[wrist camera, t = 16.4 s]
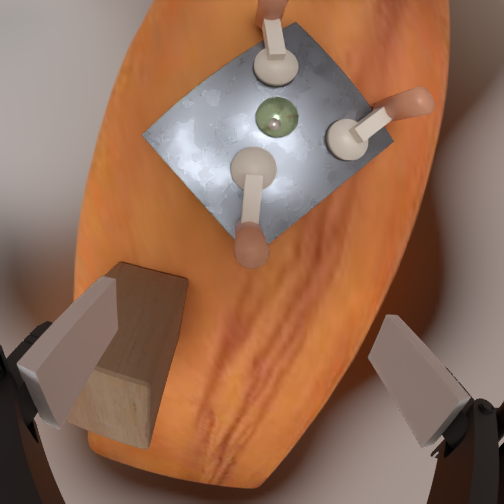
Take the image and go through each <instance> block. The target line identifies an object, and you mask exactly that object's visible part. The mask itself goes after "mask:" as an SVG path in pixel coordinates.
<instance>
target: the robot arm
mask: <svg viewBox="0 0 504 504" xmlns="http://www.w3.org/2000/svg"><path fill="white" fill-rule="evenodd" d="M117 331H118V318H117V299H116V279H114V278H109V277H104V276H101V277H100V278H99V279H98V280H97V281H95V282H94V283H93V284H92V285H91V286H90V287H89V288H88V289H87V290H86V291H85V292H84V293H83V294H82V295H81V296H80V297H79V298H78V299H77V300H76V301H75V302H74V303H73V304H72V305H71V306H70V307H68V308H67V310H66V311H65V312H64V313H63V314H62V315H61V316H60V317H59V318H58V319H57V320H56V321H55V322H54V323H52V322H49V321H47V322H45V323H43V324H41V325H39V326H37V327H36V328H35V329H34V330H33V331H32V332H31V333H30V335H28V336H27V337H26V338H25V339H24V341H22V342H21V343H20V345H19V346H18V347H17V348H16V349H15V350H14V351H13V352H12V353H11V354H10V355H9V356H8V358H7V359H6V357H5V355H4V352H3V349H2V346H1V345H0V504H65V501H64V500H63V497H62V495H61V493H60V491H59V488H58V486H57V484H56V481H55V479H54V477H53V474H52V472H51V469H50V466H49V463H48V461H47V458H46V455H45V452H44V449H43V446H42V442H41V439H40V436H39V432H38V428H37V425H36V422H35V420H34V417H35V416H36V414H37V412H38V413H39V415H40V417H41V419H42V421H43V422H44V423H46V424H48V425H50V426H53V427H55V428H57V429H59V430H61V429H62V427H63V425H64V423H65V421H66V419H67V417H68V415H69V413H70V411H71V410H72V408H73V406H74V404H75V402H76V400H77V398H78V397H79V395H80V393H81V391H82V389H83V388H84V386H85V384H86V382H87V381H88V379H89V377H90V375H91V374H92V372H93V370H94V368H95V367H96V365H97V363H98V362H99V360H100V358H101V357H102V355H103V353H104V352H105V350H106V348H107V347H108V345H109V343H110V342H111V340H112V339H113V337H114V335H115V334H116V332H117ZM368 359H369V360H370V362H371V363H372V365H373V367H374V368H375V370H376V372H377V373H378V375H379V376H380V378H381V380H382V381H383V383H384V385H385V386H386V388H387V390H388V391H389V393H390V395H391V396H392V398H393V400H394V401H395V403H396V404H397V406H398V408H399V410H400V411H401V413H402V415H403V417H404V418H405V420H406V421H407V423H408V425H409V427H410V429H411V430H412V432H413V434H414V435H415V437H416V439H417V441H418V443H419V444H420V446H421V448H423V447H426V446H429V445H432V444H434V443H435V442H436V441H437V440H438V439H439V437H440V436H441V435H443V437H444V438H445V439H444V440H443V441H442V442H441V443H440V444H439V446H438V447H437V448H436V449H435V450H434V451H433V452H432V453H431V456H433V455H434V454H435V453H436V452H439V454H438V455H436V457H435V458H438V460H437V465H436V470H435V474H434V478H433V482H432V486H431V490H430V494H429V497H428V502H427V504H504V443H503V444H502V445H501V446H500V447H499V445H498V442H499V441H500V440H501V439H502V438H503V436H504V402H503V403H502V405H501V406H500V407H499V408H494V407H493V405H492V404H491V403H489V402H488V401H487V400H484V399H476V400H474V399H473V398H472V397H471V396H470V394H469V393H468V392H467V391H466V389H465V388H464V387H463V386H462V385H461V384H460V382H458V380H457V379H456V378H455V377H454V376H453V374H452V373H451V372H450V371H449V370H448V368H446V367H445V366H444V365H443V364H442V363H441V362H440V361H439V360H438V358H437V357H436V356H435V355H434V354H433V353H432V352H431V351H430V350H429V349H428V347H427V346H426V345H425V344H424V343H423V342H422V341H421V340H420V339H419V338H418V337H417V336H416V335H415V333H414V332H413V331H412V330H411V329H410V328H409V327H408V326H407V325H406V324H405V323H404V322H403V321H402V320H401V319H400V318H399V317H398V315H386V317H385V319H384V322H383V324H382V326H381V329H380V331H379V334H378V336H377V338H376V341H375V343H374V345H373V347H372V350H371V352H370V354H369V356H368Z"/></svg>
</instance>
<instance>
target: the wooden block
mask: <svg viewBox="0 0 504 504" xmlns="http://www.w3.org/2000/svg"><path fill="white" fill-rule="evenodd" d="M104 277H109V278H114V279H116V299H117V318H118V331H117V332H116V334H115V335H114V337H113V339H112V340H111V342H110V343H109V345H108V347H107V348H106V350H105V352H104V353H103V355H102V357H101V358H100V360H99V362H98V363H97V365H96V367H95V368H94V370H93V372H92V374H91V375H90V377H89V379H88V381H87V382H86V384H85V386H84V388H83V389H82V391H81V393H80V395H79V397H78V398H77V400H76V402H75V404H74V406H73V408H72V410H71V411H70V413H69V415H68V417H67V419H66V421H67V422H69V423H71V424H74V425H76V426H79V427H81V428H83V429H86V430H88V431H91V432H93V433H96V434H98V435H101V436H104V437H107V438H109V439H112V440H115V441H118V442H121V443H125V444H128V445H131V446H134V447H138V448H141V449H148V447H149V446H150V443H151V439H152V434H153V430H154V426H155V422H156V418H157V414H158V411H159V407H160V403H161V399H162V395H163V392H164V388H165V384H166V381H167V377H168V373H169V370H170V366H171V363H172V359H173V356H174V352H175V349H176V345H177V342H178V339H179V333H180V326H181V320H182V314H183V308H184V302H185V297H186V291H187V286H188V281H187V279H185V278H181V277H177V276H173V275H169V274H165V273H161V272H157V271H153V270H149V269H145V268H141V267H137V266H133V265H130V264H126V263H122V262H120V263H118V264H117V265H116V266H114V267H113V268H112V269H111V270H110V271H109V272H108V273H107V274H106V275H105V276H104Z"/></svg>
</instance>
